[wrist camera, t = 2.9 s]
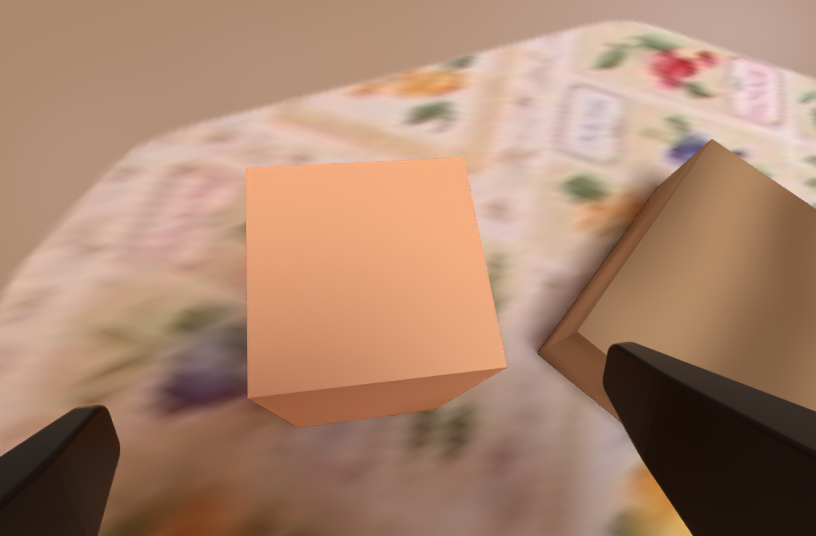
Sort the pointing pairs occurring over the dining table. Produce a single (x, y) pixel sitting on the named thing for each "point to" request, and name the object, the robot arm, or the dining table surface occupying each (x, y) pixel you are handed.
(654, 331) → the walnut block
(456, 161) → the terracotta block
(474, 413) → the dining table surface
